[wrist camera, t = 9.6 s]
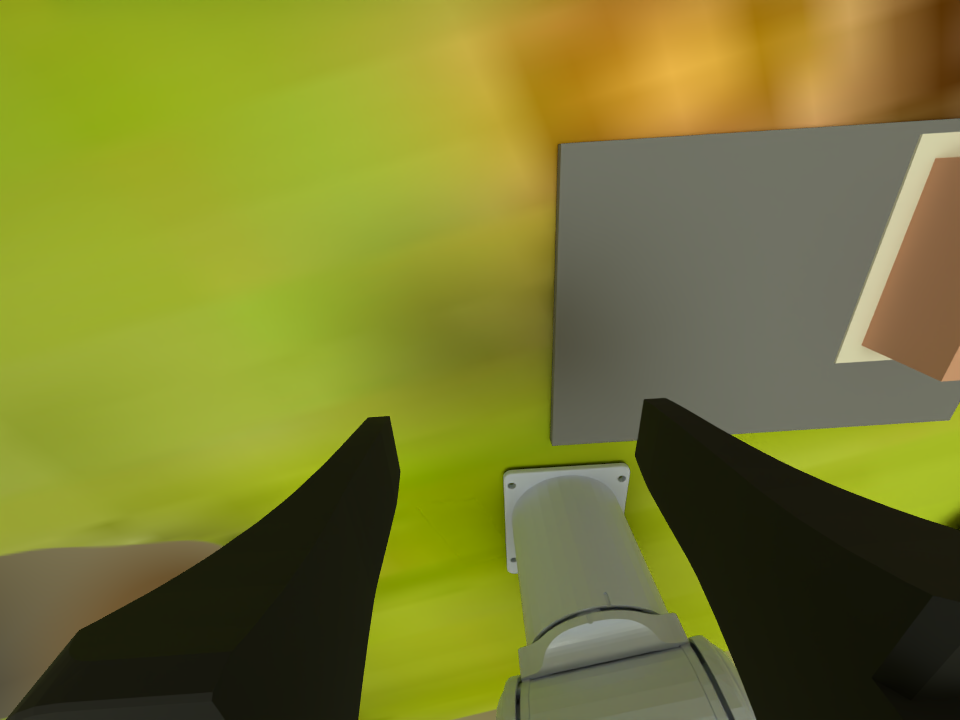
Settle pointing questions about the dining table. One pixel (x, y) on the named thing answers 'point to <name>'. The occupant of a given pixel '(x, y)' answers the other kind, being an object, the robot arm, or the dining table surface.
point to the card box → (925, 284)
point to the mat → (737, 279)
